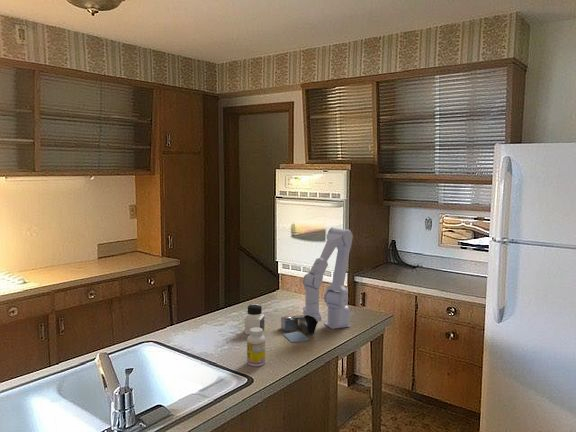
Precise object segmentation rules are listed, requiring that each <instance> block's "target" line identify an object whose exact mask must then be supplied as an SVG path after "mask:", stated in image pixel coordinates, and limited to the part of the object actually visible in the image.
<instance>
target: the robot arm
mask: <svg viewBox="0 0 576 432" xmlns="http://www.w3.org/2000/svg"><path fill="white" fill-rule="evenodd" d="M353 238H354V235H353V233H352V231H351V229H345V228H344V229H343V228H338V227H330V228H329V229H328V231H327V233H326V242H325V245H324V247H323V249H322V251H321V254H320V257H318V258H316V259H315V260H314V262H313V264H312V266H311V268H310V270H309V272H308V273H306V274H305V275H304V276H303V279H302V284H303V287H304V291H305V297H304V298H305V306H303V308H302V310H303V311H302V315H307V316H304V318H305V320H306V322H307V326H308V331H309V333H312V334H315V333H316V329H317V325H318V323H319V322H322V316H321V314H320V311H319V310H320V287H321V285H323V279H324V274H325V272H326V270H327V268H328V267H329V263H328V261H329V259H330V257H331V256H332V254H334V252H335V251H334V250H336V249H337V252H336V259H335V264H334V269H333V270H334V271H333V277H332V282H331V284H330V285H329V286H327V287H326V291H325V293H324V296H323V299H324V300H323V301H324V302H325V304H326V306H327V321H325V322H323V324H325V326H327V327H328V328H329V329H331V330H333V329H341V328H348V327H351V325H350V315H351V314H350V308H349V305H348V302H349V290H348V288H346V287H345V280H346V274H347V269H348V264H349V263H348V262H349V257H350V251H351V248H352V245H353V244H352V243H353Z"/></svg>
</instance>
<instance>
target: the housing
mask: <svg viewBox="0 0 576 432" xmlns="http://www.w3.org/2000/svg"><path fill="white" fill-rule="evenodd" d="M296 315H297V316H296ZM296 315H285V316H282V317H280V318H281V319H280V328H281V330H283V332H285V333H286V332H296V330H299V326H298V319H305V318H304V316H307V315H304V314H296Z"/></svg>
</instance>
